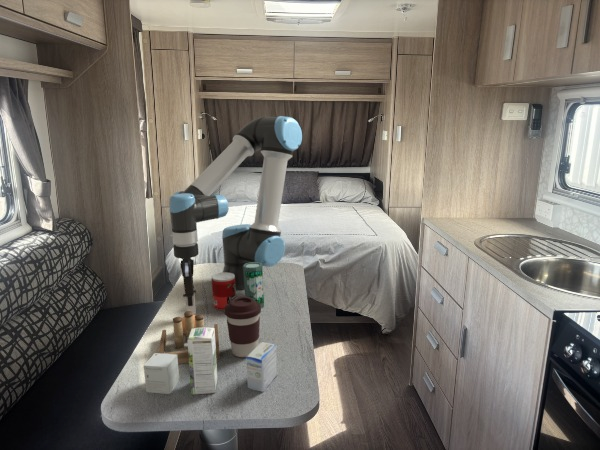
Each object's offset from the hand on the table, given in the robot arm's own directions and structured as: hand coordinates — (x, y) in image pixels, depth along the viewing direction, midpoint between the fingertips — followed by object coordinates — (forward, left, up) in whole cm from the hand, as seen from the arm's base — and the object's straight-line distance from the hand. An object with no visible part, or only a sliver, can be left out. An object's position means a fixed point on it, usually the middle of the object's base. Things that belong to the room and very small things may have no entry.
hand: (191, 313), depth 146 cm
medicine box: (-18, +41, -2) cm, 45 cm away
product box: (+6, +37, -2) cm, 38 cm away
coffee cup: (-15, +25, -2) cm, 29 cm away
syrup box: (-4, +40, -2) cm, 40 cm away
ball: (0, +10, +1) cm, 10 cm away
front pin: (0, +14, -2) cm, 14 cm away
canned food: (-11, -8, -2) cm, 14 cm away
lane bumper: (0, +19, -2) cm, 19 cm away
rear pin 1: (+3, +18, -2) cm, 18 cm away
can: (-21, -5, -2) cm, 22 cm away
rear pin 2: (-3, +18, -2) cm, 18 cm away
